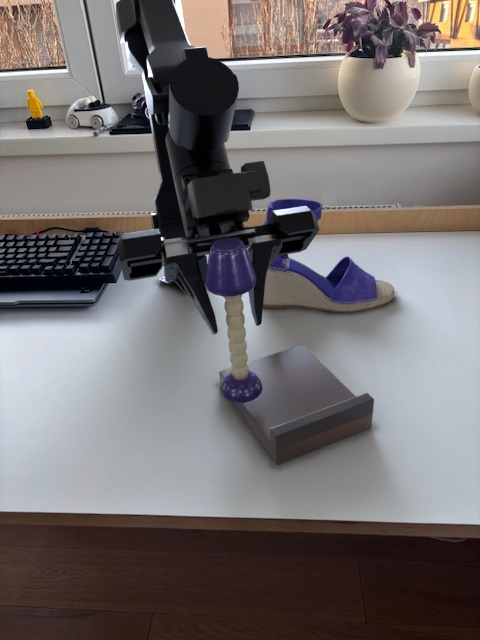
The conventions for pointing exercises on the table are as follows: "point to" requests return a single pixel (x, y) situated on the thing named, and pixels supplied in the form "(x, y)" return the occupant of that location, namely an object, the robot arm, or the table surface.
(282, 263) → the sandal
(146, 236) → the robot arm
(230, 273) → the toy lamp
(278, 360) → the shoe shelf
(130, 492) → the table surface
